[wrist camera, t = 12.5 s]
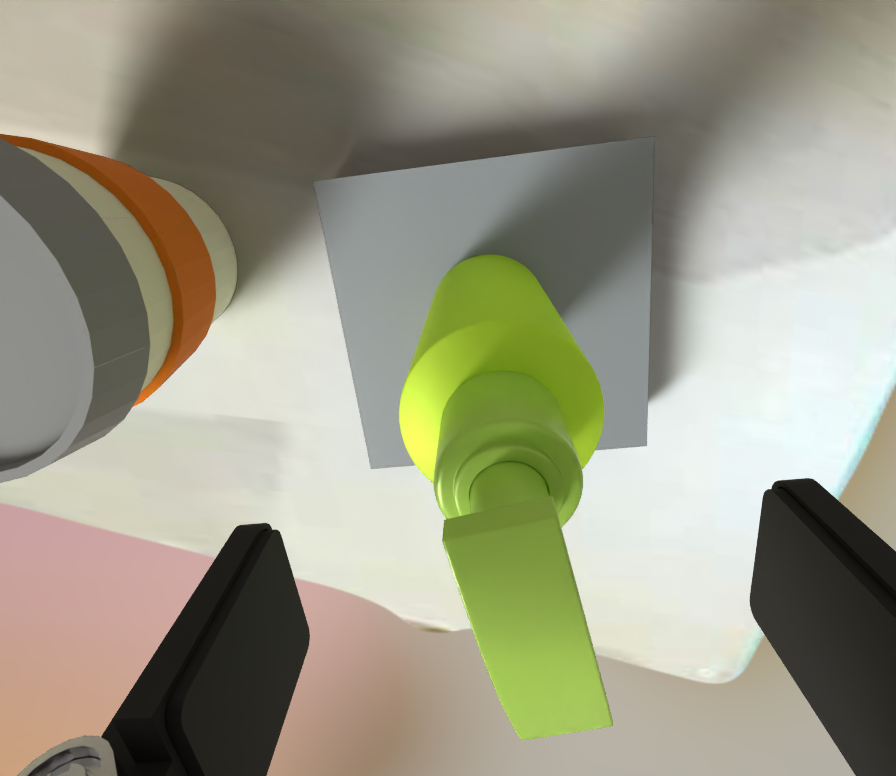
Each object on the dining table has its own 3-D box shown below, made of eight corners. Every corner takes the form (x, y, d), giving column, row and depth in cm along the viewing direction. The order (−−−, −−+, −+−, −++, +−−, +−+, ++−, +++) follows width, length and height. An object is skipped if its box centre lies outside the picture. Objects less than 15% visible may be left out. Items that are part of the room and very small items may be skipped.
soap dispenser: (456, 394, 29) (424, 782, 10) (417, 273, 26) (285, 495, 8) (560, 366, 28) (732, 736, 9) (530, 239, 26) (680, 398, 7)
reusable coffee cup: (10, 193, 30) (-394, 208, 16) (197, 103, 28) (-80, 29, 14) (134, 385, 34) (-99, 529, 20) (304, 319, 32) (175, 431, 18)
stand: (333, 180, 29) (313, 181, 25) (629, 141, 27) (654, 136, 24) (381, 437, 35) (371, 468, 31) (627, 415, 33) (646, 445, 30)
